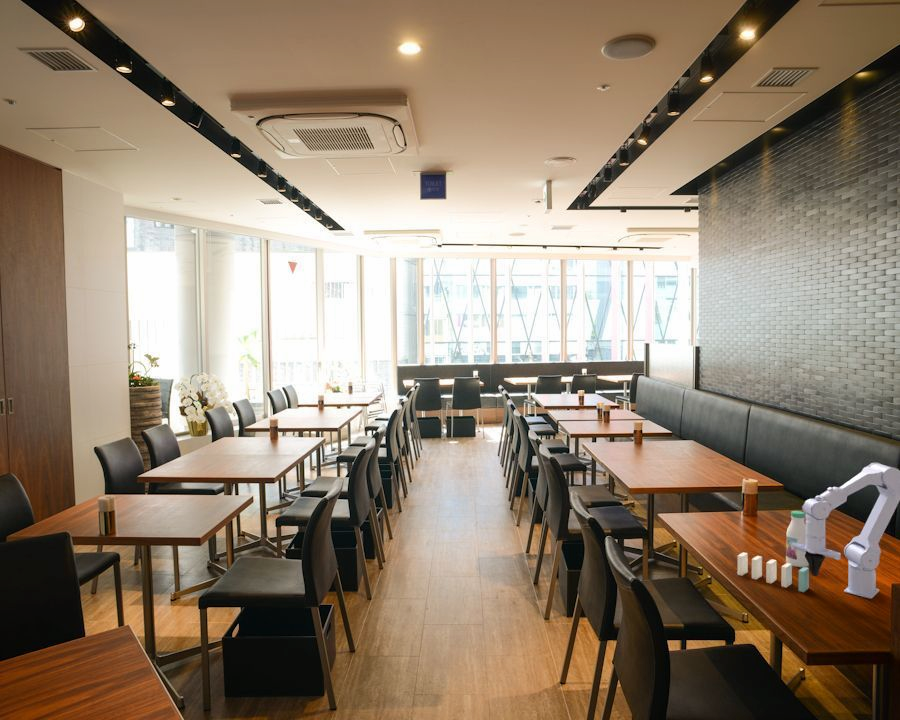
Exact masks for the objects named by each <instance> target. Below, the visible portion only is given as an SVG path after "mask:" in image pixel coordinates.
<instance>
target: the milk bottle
mask: <svg viewBox="0 0 900 720" xmlns="http://www.w3.org/2000/svg"><path fill="white" fill-rule="evenodd" d="M790 517H791V521H790V523H789V525H788V526H787V530H786V536H785V537H786V539H785V562H786V563H790V564H792V567H795V568H796V567H798V568H803V567H806V568H809V567H810V566H809V564H808V562H807V560H806V558H805V554H806V552H804V551H799V550H792V549H791V544H792V543H798V544H806V521H805V520H806V515H805V513H804V511H801V510H792V511H790Z"/></svg>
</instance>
